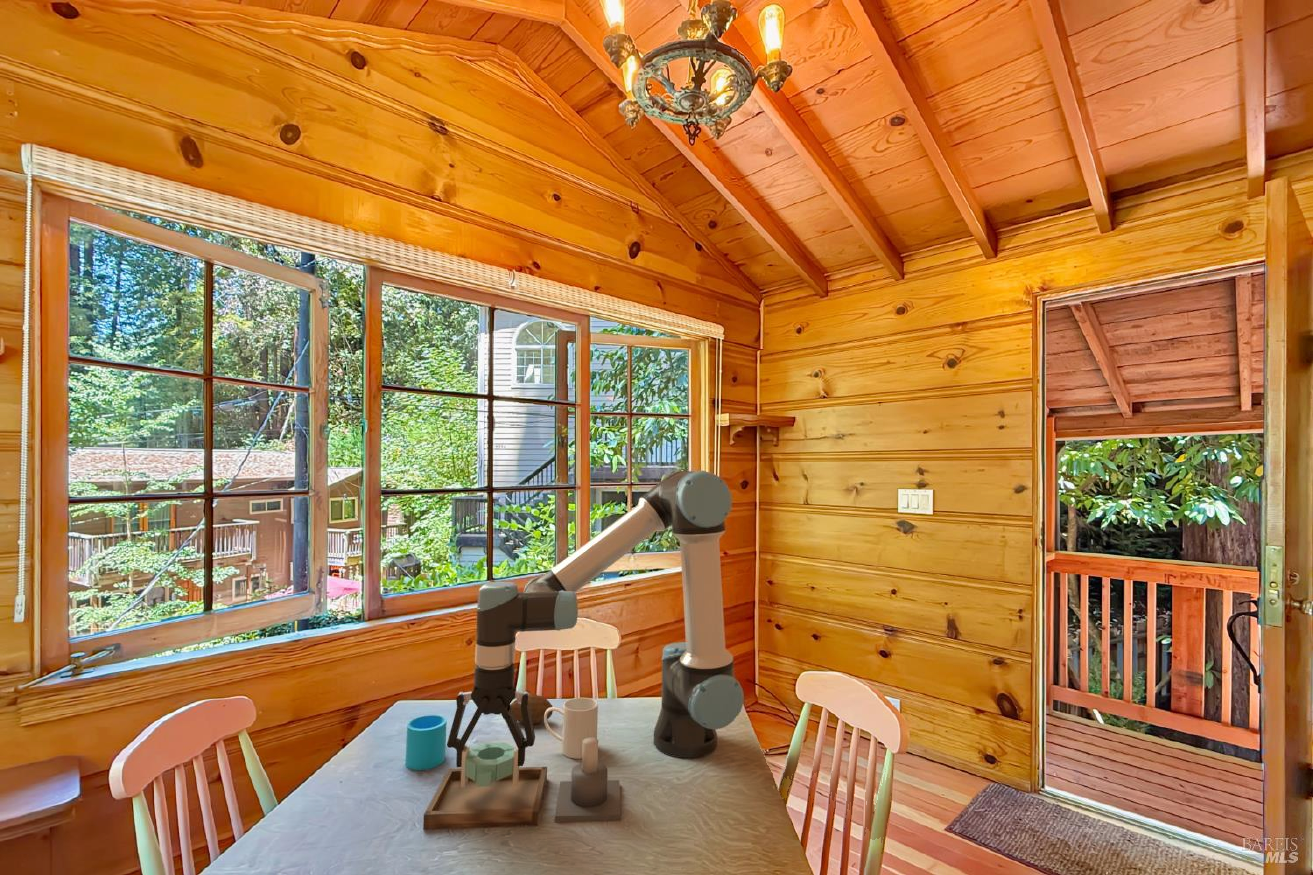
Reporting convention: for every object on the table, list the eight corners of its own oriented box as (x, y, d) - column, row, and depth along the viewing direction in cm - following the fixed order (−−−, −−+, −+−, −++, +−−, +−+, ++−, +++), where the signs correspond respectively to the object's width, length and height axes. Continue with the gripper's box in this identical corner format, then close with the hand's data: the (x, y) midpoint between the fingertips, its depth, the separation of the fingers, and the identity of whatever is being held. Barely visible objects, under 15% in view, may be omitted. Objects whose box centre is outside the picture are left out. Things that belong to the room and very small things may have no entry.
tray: (546, 779, 120) (547, 766, 120) (537, 825, 104) (537, 811, 104) (448, 781, 118) (448, 768, 118) (423, 829, 102) (423, 814, 102)
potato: (510, 716, 150) (511, 689, 151) (555, 717, 150) (556, 690, 151) (504, 728, 143) (505, 699, 144) (551, 728, 144) (552, 700, 144)
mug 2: (596, 742, 137) (597, 696, 137) (597, 758, 129) (598, 710, 130) (544, 744, 135) (545, 698, 136) (541, 760, 127) (543, 712, 128)
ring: (517, 757, 116) (518, 742, 116) (508, 785, 106) (509, 768, 106) (472, 758, 116) (472, 742, 116) (458, 786, 105) (459, 769, 105)
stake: (619, 784, 118) (620, 727, 119) (620, 819, 106) (621, 755, 107) (560, 786, 117) (561, 728, 118) (554, 821, 105) (556, 756, 106)
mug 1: (434, 771, 122) (436, 731, 123) (397, 768, 123) (399, 729, 124) (458, 745, 134) (460, 709, 135) (425, 742, 135) (426, 707, 135)
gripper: (552, 657, 117) (548, 771, 116) (443, 657, 116) (438, 773, 114) (549, 669, 110) (544, 792, 108) (432, 670, 108) (426, 794, 107)
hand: (490, 782), depth 111 cm, fingers closed on ring, 9 cm apart
